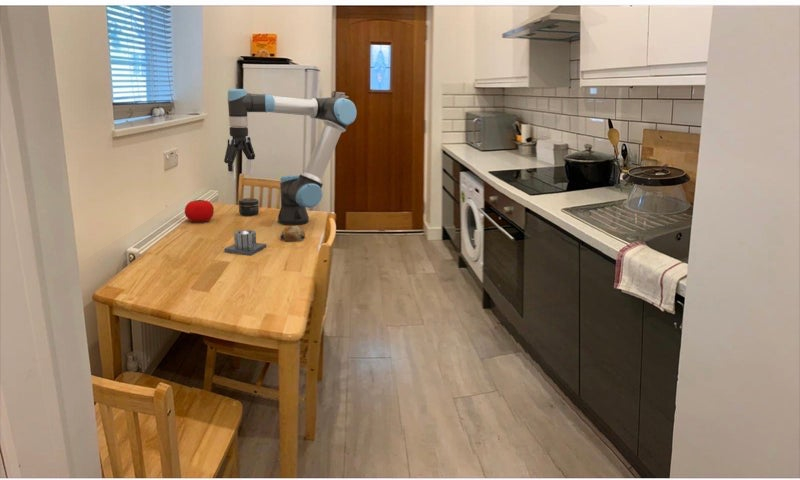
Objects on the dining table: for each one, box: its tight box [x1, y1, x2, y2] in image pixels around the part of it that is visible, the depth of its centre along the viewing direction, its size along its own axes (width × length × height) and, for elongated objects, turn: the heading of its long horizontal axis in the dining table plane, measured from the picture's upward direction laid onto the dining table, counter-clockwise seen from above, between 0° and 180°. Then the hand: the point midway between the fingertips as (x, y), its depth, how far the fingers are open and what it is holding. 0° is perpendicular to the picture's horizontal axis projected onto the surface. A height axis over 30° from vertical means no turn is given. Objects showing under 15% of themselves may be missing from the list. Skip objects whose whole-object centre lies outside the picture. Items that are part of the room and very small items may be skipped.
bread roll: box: [280, 225, 306, 243], centre depth 240 cm, size 10×10×8 cm
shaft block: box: [223, 229, 267, 256], centre depth 222 cm, size 12×12×8 cm
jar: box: [238, 197, 260, 217], centre depth 281 cm, size 10×10×8 cm
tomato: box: [184, 199, 215, 223], centre depth 265 cm, size 14×13×10 cm
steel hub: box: [233, 228, 257, 249], centre depth 222 cm, size 8×8×6 cm
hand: (241, 176), depth 235 cm, fingers open, 13 cm apart
